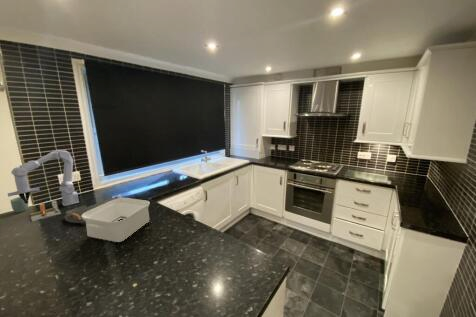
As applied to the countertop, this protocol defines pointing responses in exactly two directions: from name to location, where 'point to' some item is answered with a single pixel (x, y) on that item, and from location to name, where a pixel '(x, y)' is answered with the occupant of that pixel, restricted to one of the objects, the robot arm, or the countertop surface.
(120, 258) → the countertop surface
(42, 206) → the slider leg
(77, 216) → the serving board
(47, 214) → the bolt plate
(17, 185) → the robot arm
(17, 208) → the cup
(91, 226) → the white sink basin
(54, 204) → the rail
